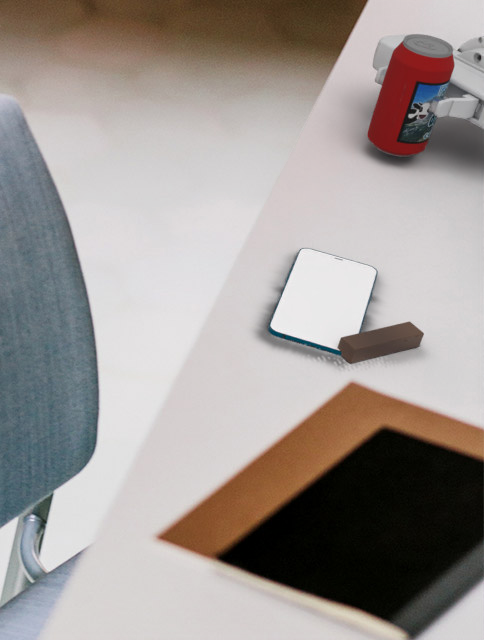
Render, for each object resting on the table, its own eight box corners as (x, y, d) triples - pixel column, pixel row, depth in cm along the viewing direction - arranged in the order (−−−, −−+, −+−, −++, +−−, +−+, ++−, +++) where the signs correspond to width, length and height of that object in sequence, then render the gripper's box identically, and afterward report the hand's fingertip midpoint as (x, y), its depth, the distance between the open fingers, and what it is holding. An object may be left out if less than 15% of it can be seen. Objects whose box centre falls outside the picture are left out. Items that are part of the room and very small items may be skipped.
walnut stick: (404, 334, 108) (409, 320, 107) (419, 346, 107) (424, 333, 106) (335, 351, 105) (340, 337, 104) (349, 364, 103) (354, 350, 102)
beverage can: (413, 166, 132) (450, 62, 124) (356, 146, 134) (388, 43, 126) (431, 146, 137) (467, 44, 129) (375, 127, 139) (408, 26, 131)
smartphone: (351, 364, 104) (377, 276, 116) (354, 355, 104) (379, 268, 115) (263, 337, 106) (297, 253, 118) (265, 329, 105) (300, 245, 117)
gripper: (430, 14, 141) (348, 28, 135) (570, 84, 129) (488, 103, 123) (413, 65, 146) (333, 81, 139) (548, 138, 133) (467, 159, 127)
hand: (407, 92), depth 131 cm, fingers closed on beverage can, 6 cm apart
